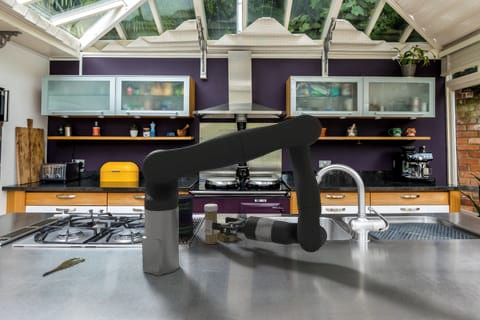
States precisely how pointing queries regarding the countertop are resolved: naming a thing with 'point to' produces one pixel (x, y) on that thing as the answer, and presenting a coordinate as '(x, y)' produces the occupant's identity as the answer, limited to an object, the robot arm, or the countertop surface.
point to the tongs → (64, 265)
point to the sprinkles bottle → (210, 223)
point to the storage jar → (185, 215)
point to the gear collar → (225, 237)
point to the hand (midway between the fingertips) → (219, 222)
